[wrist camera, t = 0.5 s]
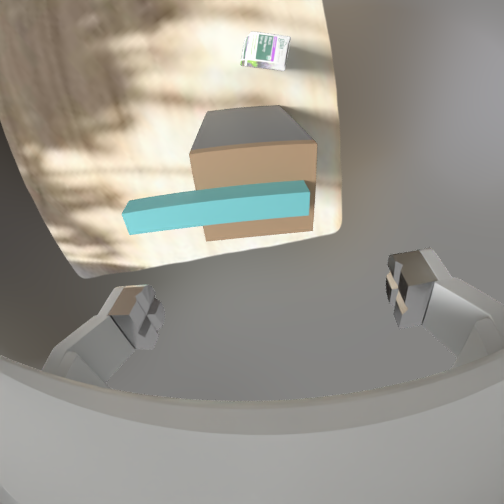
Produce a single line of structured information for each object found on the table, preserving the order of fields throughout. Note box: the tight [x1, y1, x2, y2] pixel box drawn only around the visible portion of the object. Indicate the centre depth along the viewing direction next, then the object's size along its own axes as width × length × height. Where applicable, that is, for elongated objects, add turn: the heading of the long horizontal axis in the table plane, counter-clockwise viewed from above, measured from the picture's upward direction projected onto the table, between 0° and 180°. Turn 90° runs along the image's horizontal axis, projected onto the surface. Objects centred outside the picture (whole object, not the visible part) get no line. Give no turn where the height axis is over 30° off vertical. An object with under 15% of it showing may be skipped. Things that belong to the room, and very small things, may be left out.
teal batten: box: [122, 180, 310, 235], centre depth 30 cm, size 21×3×3 cm, turn 94°
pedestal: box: [189, 105, 317, 241], centre depth 42 cm, size 14×12×26 cm
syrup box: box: [241, 31, 291, 71], centre depth 35 cm, size 6×6×14 cm
